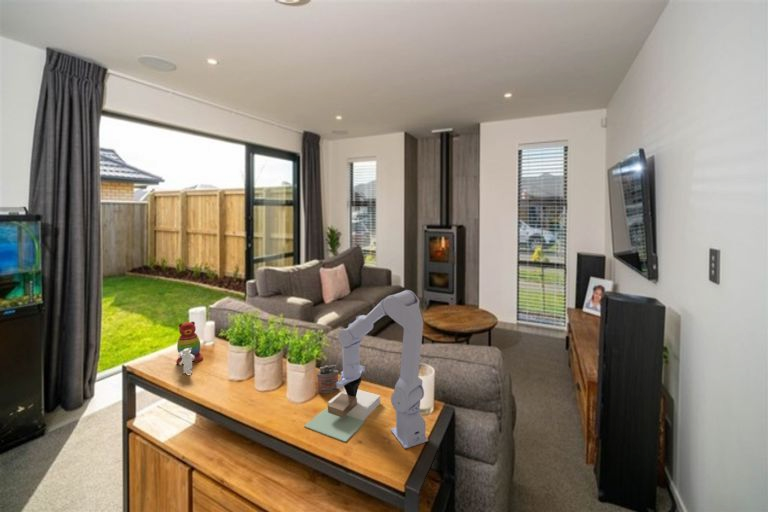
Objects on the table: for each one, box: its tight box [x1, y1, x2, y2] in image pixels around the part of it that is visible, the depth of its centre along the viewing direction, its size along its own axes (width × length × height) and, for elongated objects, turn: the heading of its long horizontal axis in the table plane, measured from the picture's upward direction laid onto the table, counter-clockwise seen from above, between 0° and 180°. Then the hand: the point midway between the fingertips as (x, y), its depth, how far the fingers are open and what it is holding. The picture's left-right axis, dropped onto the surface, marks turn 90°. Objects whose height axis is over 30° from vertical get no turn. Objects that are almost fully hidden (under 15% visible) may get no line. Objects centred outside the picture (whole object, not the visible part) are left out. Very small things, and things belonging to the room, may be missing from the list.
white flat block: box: [327, 388, 381, 421], centre depth 120 cm, size 12×14×3 cm
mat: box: [303, 408, 366, 443], centre depth 110 cm, size 11×16×1 cm
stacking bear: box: [176, 321, 204, 365], centre depth 159 cm, size 11×10×18 cm
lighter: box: [316, 364, 340, 394], centre depth 130 cm, size 8×3×10 cm, turn 105°
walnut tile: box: [327, 393, 357, 418], centre depth 113 cm, size 8×6×2 cm
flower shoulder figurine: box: [177, 348, 195, 374], centre depth 145 cm, size 9×4×12 cm, turn 61°
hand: (351, 399), depth 118 cm, fingers closed
